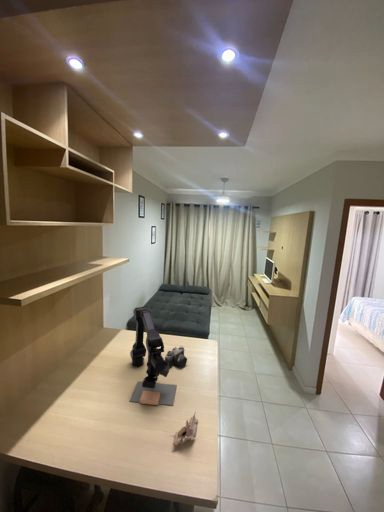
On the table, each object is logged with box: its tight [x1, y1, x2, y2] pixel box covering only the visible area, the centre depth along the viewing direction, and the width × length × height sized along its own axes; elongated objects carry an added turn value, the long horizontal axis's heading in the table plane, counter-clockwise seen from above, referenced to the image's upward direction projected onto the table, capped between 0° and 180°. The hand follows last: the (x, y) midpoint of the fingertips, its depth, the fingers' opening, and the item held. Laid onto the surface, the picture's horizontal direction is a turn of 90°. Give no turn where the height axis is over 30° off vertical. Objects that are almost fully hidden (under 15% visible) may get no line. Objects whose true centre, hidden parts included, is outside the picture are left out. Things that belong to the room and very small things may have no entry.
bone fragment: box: [172, 411, 199, 447], centre depth 93 cm, size 16×7×10 cm
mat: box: [129, 381, 178, 407], centre depth 115 cm, size 22×14×1 cm, turn 87°
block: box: [139, 391, 160, 406], centre depth 110 cm, size 9×2×6 cm
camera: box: [164, 345, 188, 368], centre depth 140 cm, size 16×10×10 cm, turn 138°
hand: (152, 387), depth 113 cm, fingers closed
